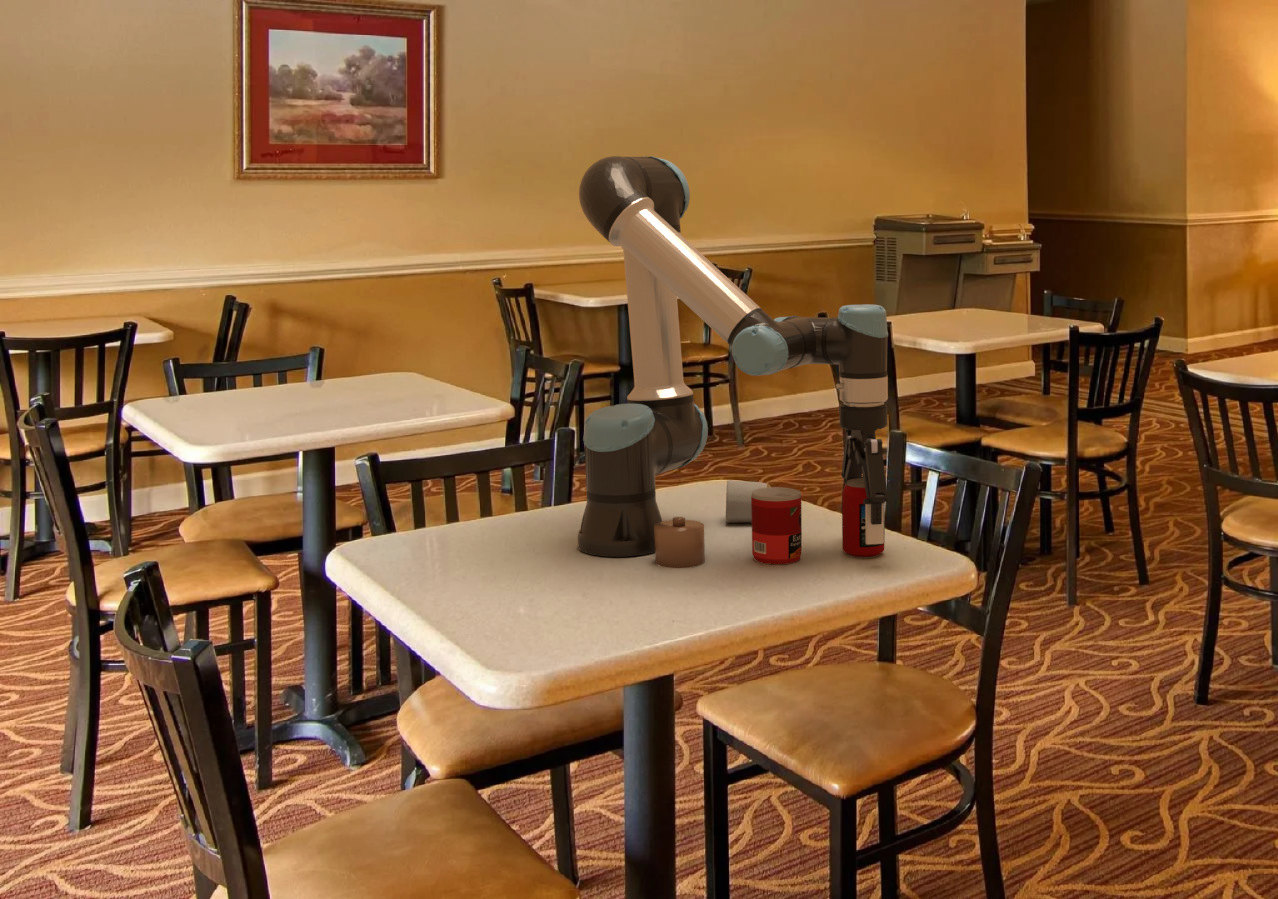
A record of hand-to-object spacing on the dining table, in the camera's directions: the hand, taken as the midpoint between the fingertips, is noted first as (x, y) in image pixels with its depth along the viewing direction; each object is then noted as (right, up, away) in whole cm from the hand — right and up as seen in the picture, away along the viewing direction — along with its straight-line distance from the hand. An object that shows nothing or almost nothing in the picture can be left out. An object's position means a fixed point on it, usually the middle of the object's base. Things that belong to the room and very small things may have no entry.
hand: (863, 533), depth 212 cm
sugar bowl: (-30, -5, 0) cm, 30 cm away
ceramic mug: (-17, 0, +26) cm, 31 cm away
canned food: (-14, -4, 0) cm, 15 cm away
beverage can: (0, -4, +1) cm, 4 cm away
